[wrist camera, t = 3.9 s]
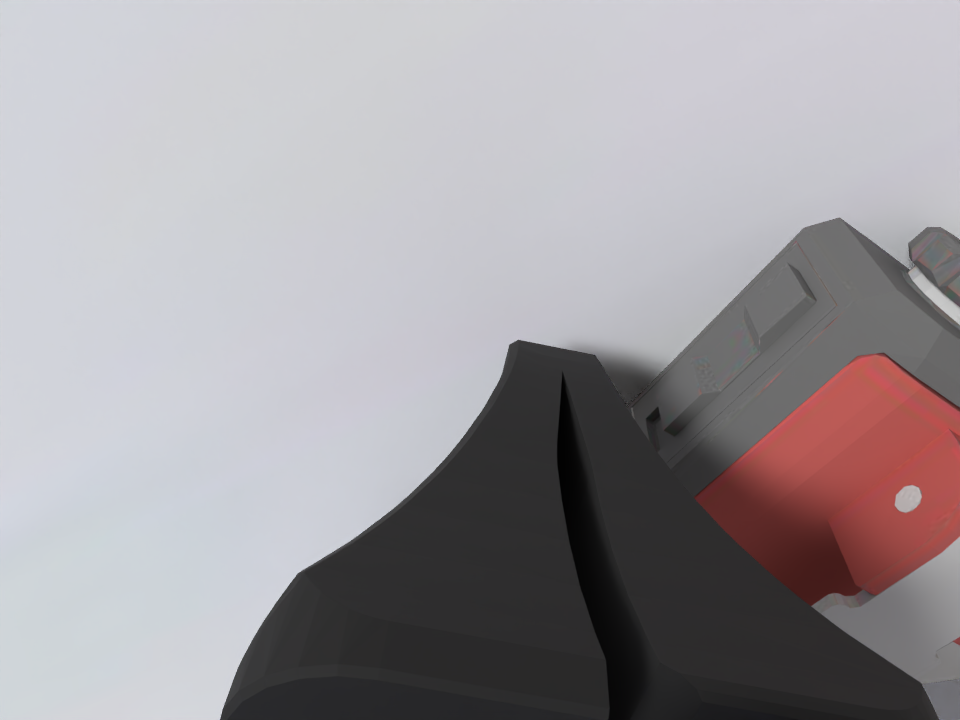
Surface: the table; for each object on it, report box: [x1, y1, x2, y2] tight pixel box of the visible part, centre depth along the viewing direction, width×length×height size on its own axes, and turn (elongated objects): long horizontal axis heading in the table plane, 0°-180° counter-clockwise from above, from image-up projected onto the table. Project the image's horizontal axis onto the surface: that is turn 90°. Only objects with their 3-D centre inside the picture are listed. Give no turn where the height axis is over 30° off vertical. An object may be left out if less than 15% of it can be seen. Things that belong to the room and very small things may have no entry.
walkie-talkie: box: [627, 218, 960, 684], centre depth 12 cm, size 9×4×20 cm
